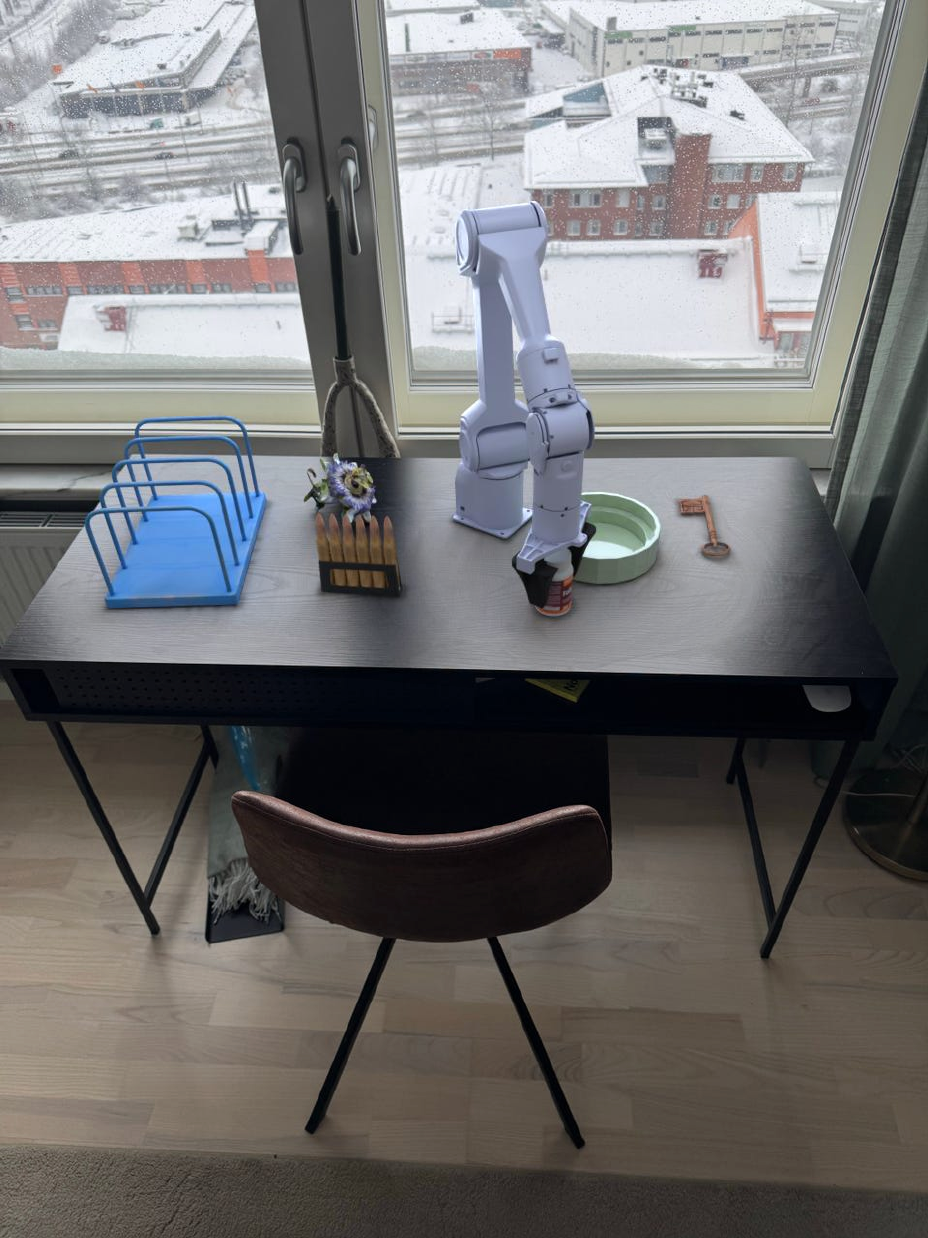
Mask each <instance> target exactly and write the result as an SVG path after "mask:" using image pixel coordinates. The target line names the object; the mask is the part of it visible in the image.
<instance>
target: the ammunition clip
mask: <svg viewBox="0 0 928 1238" xmlns="http://www.w3.org/2000/svg"><path fill="white" fill-rule="evenodd" d="M315 516H316V515H315ZM328 522H329V523H328V530H329V531H328V532H329V537H328V534H327V529H326V524H325V521H324V518H323V517H322V515H321V513H320V512H318V513H317V516H316V517H315V531H316V532H315V533H316V541H315V542H316V549H317V550H316V551H317V556H318V561H317V562H318V574H319V581H320V592H322V593H329V594H331V593H332V594H347V595H348V594H349V595H350V594H351V595H365V596H385V597H400V596H401V593H402V591H403V583H402V578H401V577H402V575H401V571H400V570H401V569H400V564H399V563H400V562H399V557H398V551H397V543H396V540H395V534H394V528H393V524H392V521H391V519H390V518H389V516H388V515H386V516H385V517H384V521H383V542H382V538H381V533H380V527H379V523H378V520H377V518H376V517H375V515H371V520H370V523H369V539H368V536H367V532H366V527H365V522H363V519H362V517H361V516H360V515H358V516H357V520H356V525H355V533H356V534H355V536H356V538H355V536H354V532H353V527H352V523H350V520H349V518H348V516H347V515H346V514H345V515H344V517H343V521H342V538H341V533H340V527H339V524H338V521H337V518H336V516H335V514H334V513H330V515H329V519H328ZM355 539H356V540H355Z"/></svg>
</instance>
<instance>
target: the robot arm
mask: <svg viewBox="0 0 928 1238" xmlns="http://www.w3.org/2000/svg"><path fill="white" fill-rule="evenodd" d="M548 239H549V228H548V221H547V216H546V213H545V211H544V209H543V208H542V206H541V205H540V204H539V203H538V202H537V201H535V200H532V201H528V202H526V203H517V204H509V205H503V206H494V207H485V208H477V209H462V210H461V211H460V212H459V215H458V216H457V218H456V221H455V224H454V241H455V242H454V243H455V244H454V245H455V257H456V258H455V259H456V266H457V269H458V274H459V276H463V277H466V278H470V282H471V287H472V297H473V315H474V333H475V349H476V364H477V366H476V367H477V381H478V382H477V383H478V397H479V398H478V399H477V401H475V402H474V403H473V404H471V406H469V407H468V408H467V409H466V410H464V412H462V414H461V415H460V421H459V422H460V423H459V424H460V425H459V427H460V430H459V435H458V445H459V452H460V456H461V460H462V461H461V462H460V464H459V465H458V467H457V470H456V472H455V479H454V490H455V513H456V514H454V516H453V517H452V519H453V521H454V522H457V523H461V524H463V525H466V526H468V527H471V528H474V529H476V530H479V531H482V532H485V533H488V534H490V535H493V536H495V537H498V538H501V539H504V540H507V539H509V538H510V537H511V536H512V535H514V534H515V533H516V532H517V531H518V530H520V528H521V527H522V526H524V525H525V524H526V523H527V522H528V521H529V520H531V525H530V528H529V531H528V534H527V536H526V538H525V541H524V543H523V547H522V549H521V550H519V551H517V553H516V554H514V555H513V556H512V557H511V567H512V569H513V570H514V571H515V572H516V573H517V575H518V577H519V579H520V580H521V582H522V585H523V587H524V590H525V594H526V597H527V599H528V603H529V605H532V606H534V607H535V606H537V607H539V608H544V607H545V606H546V603H547V600H548V595H549V589H550V585H551V582H552V579H553V577H554V575H555V573H556V572H557V570H558V568H556V567H553V566H550V565H548V564H547V561H544V558H545V557H547V556H550V555H552V554H554V553H556V552H558V551H561V550H563V549H565V548H568V549H569V550H570V552H571V564H572V566H573V571H574V572H573V577H574V576H575V575H576V574H577V571H578V569H579V566H580V563H581V560H582V557H583V554H584V552H585V550H586V547H587V546H588V544H589V542H590V540H591V539H592V537H593V536H594V535H595V533H596V526H595V525H593V524H590V523H587V522H586V520H588V519H589V518H590V517H591V508H592V504H589V503H586V502H583V501H581V494H582V493H583V477H584V476H583V475H584V463H585V462H584V461H585V459H584V458H585V451H586V450H587V451H588V450H591V449H592V448H593V446H594V443H595V437H596V428H595V426H596V425H595V419H594V415H593V411H592V408H591V406H590V404H589V403H588V401H587V400H586V399H585V396H584V395H583V392H582V391H581V389H579V390H578V389H576V385H575V381H574V378H573V373H572V370H571V366H570V362H569V358H568V355H567V351H566V348H565V344H564V342H562V341H561V340H560V339H558V338H556V337H554V336H553V335H552V332H551V326H550V320H549V315H548V309H547V302H546V297H545V292H544V286H543V281H542V274H541V268H542V266H543V264H544V261H545V257H546V253H547V252H546V251H547V247H548V246H547V245H548V242H549V240H548ZM513 325H514V328H515V331H516V334H517V337H518V339H519V342H520V345H521V346H520V348H519V349H518V351H517V353H516V354H515V358H514V336H513ZM515 363H516V368H517V371H518V375H519V380H520V382H521V387H522V391H523V395H524V398H525V403H526V404H525V403H524V402H522V401H521V400H519V399H517V398H516V387H515V385H516V384H515ZM529 462H530V465H531V466H532V467H533V473H532V474H533V475H532V476H533V477H532V479H533V480H532V509H530V508H527V507H524V479H525V478H524V477H525V476H524V473H525V472H524V471H525V470H527V469H528V468H529Z"/></svg>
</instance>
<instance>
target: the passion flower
mask: <svg viewBox="0 0 928 1238" xmlns="http://www.w3.org/2000/svg"><path fill="white" fill-rule="evenodd" d="M331 461H332V463H331V462H330V461H329V462H328V461H327V460H326V458H320V459H319V463H320V465H321V467H322V470H323V471H324V474H325V476H326V478H321V481H317V482H313V479H312V478H311V475H310V473H311V474H312V477H313V478H314V479H317V473H316V472H315V470H314V468H312V467H310V468H309V467H308V469H307V471H306V475H307V477H308V479H309V482H310V484H311V486H312V488H311V489H310V490H309V492H308V493H306V495H305V496H304V498H303V502H304V503H306V502H307V501H308V500H310V499H311V498H313V500H314V502H315V509H314V510H315V516H317V513H319V511H320V510H321V509H323V508H324V507H325V505H334V504H337V503H339V504H341V505H342V507H343V509H342V512H341V515H340V516H341V517H340V520H341V522H343V517H344V515H345V514H346V515H347V516H348V518H349V520H350V523H351V524H353V525H355V526H356V520H357V516H358V515H360V516H361V517H362V519H363V522H364V523H367V524H370V520H371V517H372V515H371V512H370V510H371V508H372V505H376V504H377V499H376V497H375V492H376V489H375V488H376V487H377V485H374V484H373V483H374V480H373V478H372V476H371V474H370V472H369V471H367V469H366V466H365V464H363V463H362V464H361V465H359V467H358V463H357V462H352V461H351V462H349V459H348V460H345V461H344V460H342V461H341V460H340V458H339V454H338V453H334V454H333V457H332V460H331Z"/></svg>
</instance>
